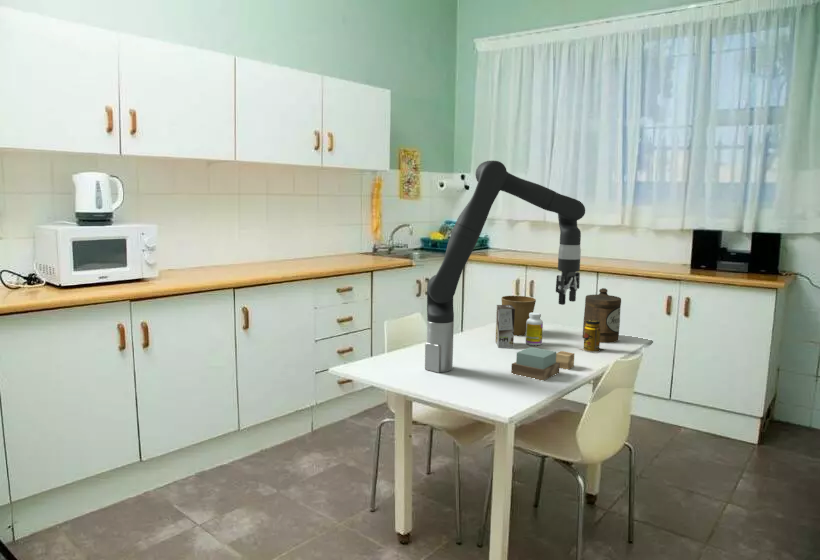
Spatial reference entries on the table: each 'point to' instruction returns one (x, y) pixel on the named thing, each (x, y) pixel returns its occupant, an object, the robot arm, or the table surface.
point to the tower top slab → (536, 358)
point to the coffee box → (505, 326)
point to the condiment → (592, 336)
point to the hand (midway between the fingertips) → (567, 302)
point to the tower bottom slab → (535, 371)
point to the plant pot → (520, 311)
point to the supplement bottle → (534, 329)
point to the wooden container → (604, 314)
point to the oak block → (565, 359)
